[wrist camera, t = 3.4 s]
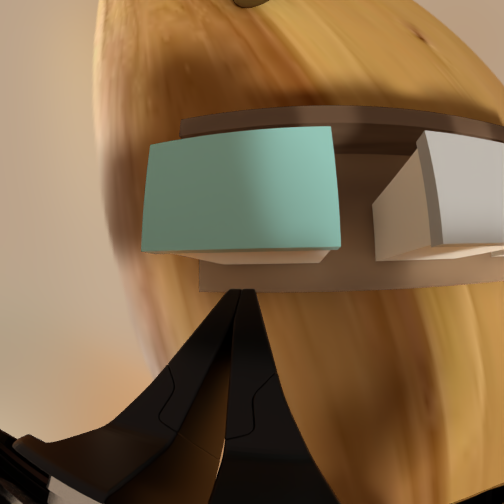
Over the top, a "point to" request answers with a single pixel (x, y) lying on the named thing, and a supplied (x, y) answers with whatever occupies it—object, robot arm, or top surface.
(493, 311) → the top surface
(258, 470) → the robot arm
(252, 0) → the kendama
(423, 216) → the grey key
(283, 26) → the top surface
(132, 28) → the top surface
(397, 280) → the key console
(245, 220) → the teal key
